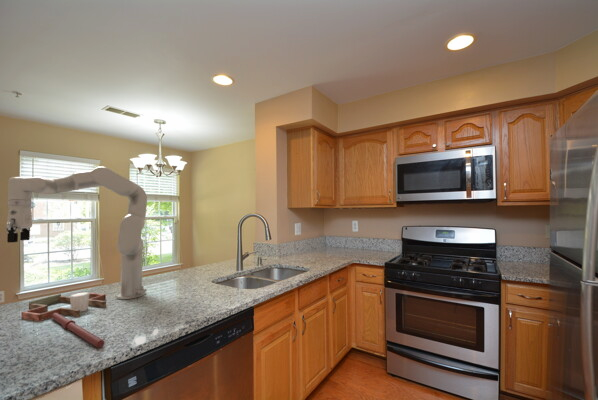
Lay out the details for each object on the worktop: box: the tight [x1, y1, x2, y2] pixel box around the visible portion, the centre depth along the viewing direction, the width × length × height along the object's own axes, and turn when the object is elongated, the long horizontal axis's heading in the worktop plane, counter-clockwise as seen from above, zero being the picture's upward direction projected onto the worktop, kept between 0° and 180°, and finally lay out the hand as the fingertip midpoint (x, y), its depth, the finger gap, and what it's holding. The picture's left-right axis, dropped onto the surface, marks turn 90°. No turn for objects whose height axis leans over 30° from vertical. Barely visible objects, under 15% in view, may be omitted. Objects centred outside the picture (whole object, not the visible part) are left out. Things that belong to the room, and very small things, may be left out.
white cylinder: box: [69, 291, 91, 312], centre depth 119 cm, size 7×7×7 cm
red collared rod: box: [50, 313, 105, 349], centre depth 97 cm, size 45×3×3 cm, turn 57°
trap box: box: [20, 292, 107, 322], centre depth 121 cm, size 32×27×4 cm
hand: (18, 241), depth 121 cm, fingers open, 9 cm apart
